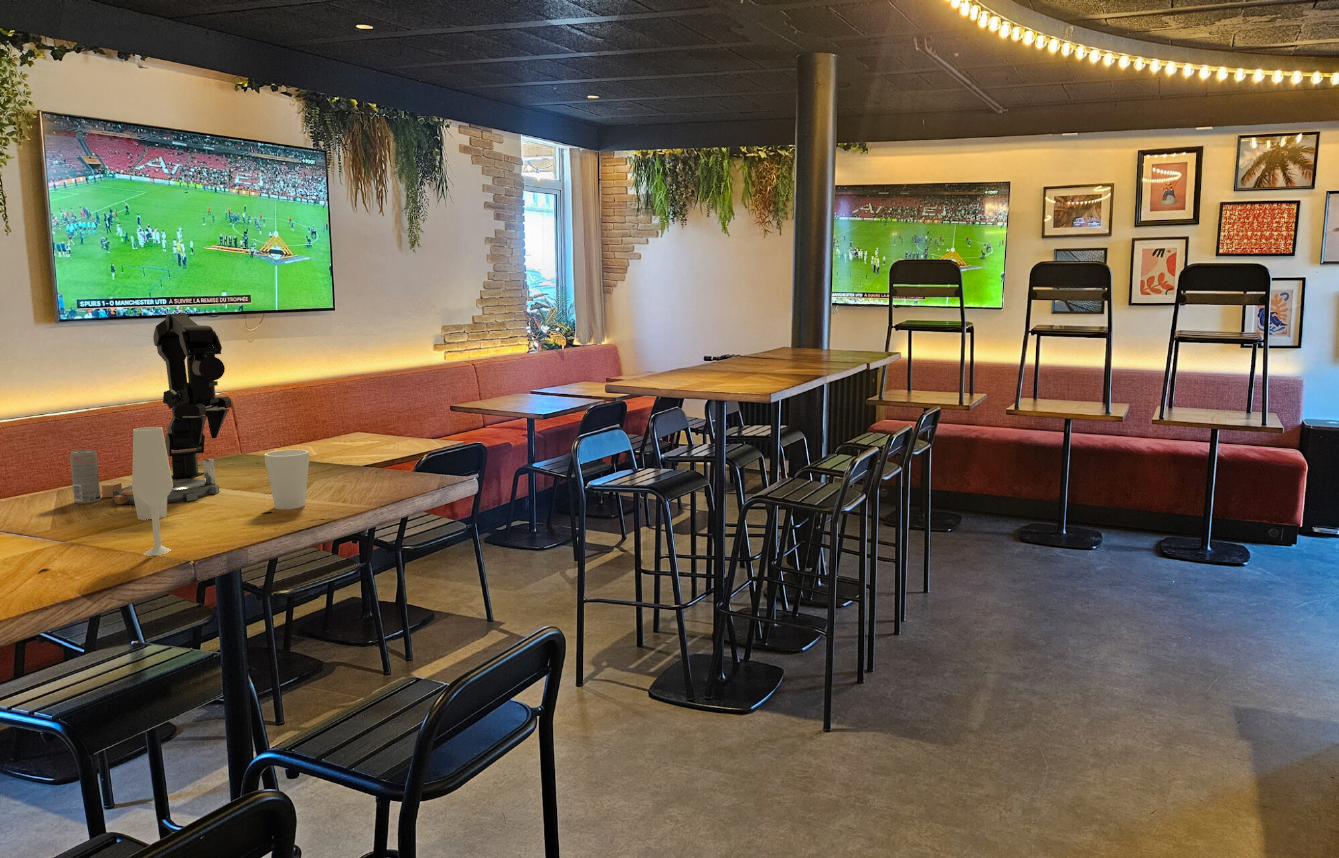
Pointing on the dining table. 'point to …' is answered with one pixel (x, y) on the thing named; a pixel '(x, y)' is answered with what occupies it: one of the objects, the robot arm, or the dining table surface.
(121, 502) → the sprocket
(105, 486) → the peach wooden cube
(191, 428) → the robot arm
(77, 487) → the energy drink
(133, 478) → the champagne flute
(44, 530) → the dining table surface
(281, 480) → the foam cup
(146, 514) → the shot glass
